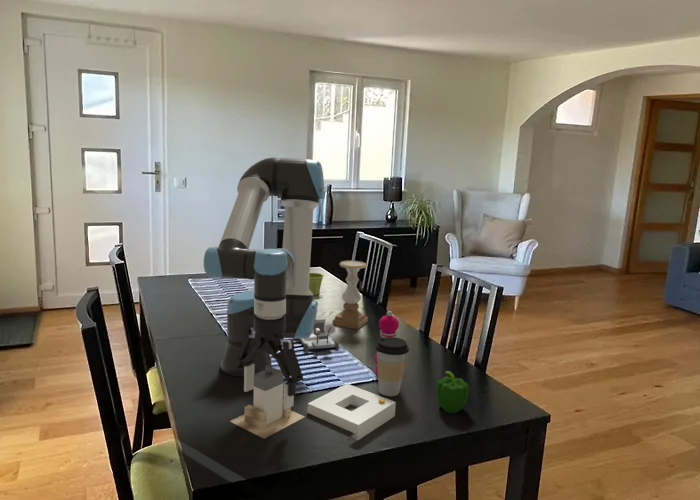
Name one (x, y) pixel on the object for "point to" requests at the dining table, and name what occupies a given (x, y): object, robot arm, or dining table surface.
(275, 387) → the plug
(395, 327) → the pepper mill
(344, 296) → the candle holder
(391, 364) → the coffee cup
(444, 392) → the bell pepper
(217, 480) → the dining table surface
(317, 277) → the plant pot
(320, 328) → the grey mechanical device
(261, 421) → the plate with raised blocks
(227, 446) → the dining table surface
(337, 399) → the port block
